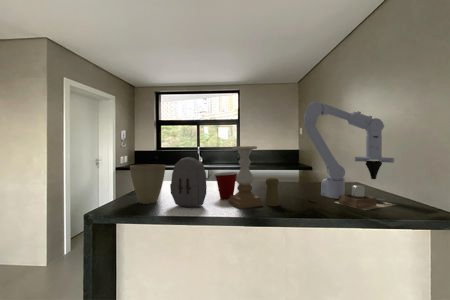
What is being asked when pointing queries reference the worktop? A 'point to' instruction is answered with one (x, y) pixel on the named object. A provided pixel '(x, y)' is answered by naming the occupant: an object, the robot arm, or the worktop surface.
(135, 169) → the plant pot
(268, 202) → the cork
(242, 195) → the candle holder
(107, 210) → the worktop surface
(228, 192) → the plastic cup
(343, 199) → the socket board
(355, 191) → the steel peg
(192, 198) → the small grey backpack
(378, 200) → the bar
